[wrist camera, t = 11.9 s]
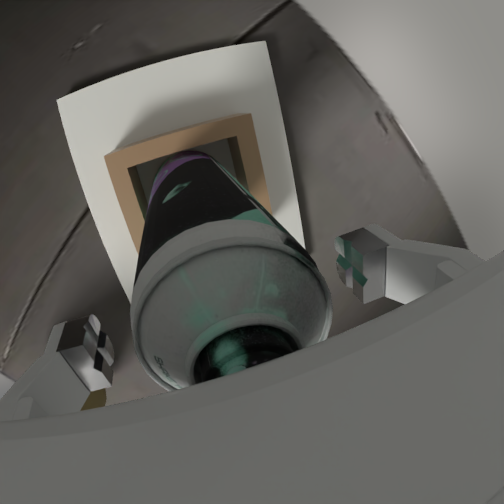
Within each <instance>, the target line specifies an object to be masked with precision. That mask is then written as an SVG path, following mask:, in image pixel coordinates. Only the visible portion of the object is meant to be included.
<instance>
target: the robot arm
mask: <svg viewBox="0 0 504 504" xmlns="http://www.w3.org/2000/svg"><path fill="white" fill-rule="evenodd" d="M335 250H336V251H337V252H338V253H339V256H338V258H337V260H336V264H337V271H338V274H339V277H340V279H341V280H342V282H343V283H344V284H345V285H346V286H347V287H351V288H353V294H354V295H355V296H356V297H357V298H358V299H359V300H360V301H361V302H362V303H363V304H365V303H368V302H370V301H373V300H375V299H378V298H380V297H383V296H385V297H388V298H390V299H393V300H396V301H398V302H401V303H404V304H405V305H403V306H401V307H399V308H397V309H395V310H392V311H390V312H388V313H386V314H384V315H382V316H380V317H377V318H375V319H373V320H371V321H368V322H366V323H364V324H362V325H359V326H357V327H355V328H352V329H350V330H348V331H345V332H343V333H341V334H338V335H336V336H333V337H331V338H329V339H326V340H324V341H321V342H319V343H316V344H314V345H311V346H308V347H306V348H303V349H301V350H298V351H295V352H293V353H290V354H287V355H284V356H282V357H279V358H276V359H273V360H271V361H268V362H265V363H262V364H259V365H256V366H253V367H250V368H247V369H244V370H241V371H238V372H235V373H232V374H228V375H225V376H222V377H219V378H216V379H212V380H209V381H205V382H202V383H199V384H195V385H192V386H188V387H184V388H181V389H177V390H173V391H169V392H166V393H162V394H158V395H154V396H150V397H145V398H141V399H137V400H132V401H128V402H123V403H119V404H114V405H109V406H104V407H99V408H94V409H89V410H83V411H80V410H81V408H82V407H83V405H84V403H85V401H86V400H87V398H88V396H89V394H90V392H91V391H95V390H99V389H103V388H107V387H111V386H112V379H113V370H112V369H111V367H110V366H111V365H112V363H113V362H114V350H113V346H112V343H111V341H110V339H109V337H108V336H107V334H105V333H103V332H102V331H100V325H101V324H100V322H99V321H98V319H97V317H96V316H95V315H93V314H91V315H87V316H84V317H80V318H76V319H73V320H69V321H65V322H62V323H59V324H56V325H54V326H53V329H52V332H51V334H50V337H49V340H48V343H47V346H46V348H45V351H44V354H43V356H40V357H39V358H38V359H37V360H36V361H35V362H34V363H33V364H32V365H31V366H30V367H29V368H28V370H27V371H26V372H25V373H24V374H23V375H22V376H21V377H20V378H19V379H18V380H17V381H16V383H15V384H14V385H13V386H12V387H11V388H10V389H9V391H7V393H6V394H5V395H4V396H3V397H2V398H1V400H0V504H504V251H502V252H500V253H499V254H497V255H495V256H494V257H492V258H491V259H489V260H487V261H484V260H483V259H481V258H480V257H478V256H477V255H475V254H473V253H472V252H470V251H469V250H467V249H463V248H457V247H451V246H445V245H438V244H432V243H426V242H420V241H413V240H407V239H406V240H403V241H402V240H401V239H399V238H398V237H396V236H395V235H393V234H392V233H390V232H388V231H387V230H385V229H384V228H382V227H381V226H379V225H377V224H371V225H368V226H366V227H363V228H360V229H357V230H355V231H352V232H349V233H346V234H344V235H341V236H338V237H336V238H335Z"/></svg>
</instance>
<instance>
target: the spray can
mask: <svg viewBox="0 0 504 504" xmlns="http://www.w3.org/2000/svg"><path fill="white" fill-rule="evenodd" d="M332 312H333V306H332V299H331V293H330V291H329V288H328V286H327V283H326V281H325V279H324V277H323V276H322V275H321V273H320V272H319V270H318V268H317V265H316V263H315V262H314V260H313V259H312V258H311V256H310V255H309V254H308V252H307V251H306V250H305V249H304V248H303V247H302V246H301V244H300V243H299V242H298V241H297V240H296V239H295V238H294V237H293V236H292V235H291V234H290V233H289V232H288V231H287V230H286V229H285V228H284V227H283V226H282V225H281V224H280V223H279V222H278V221H277V220H276V219H275V218H274V217H273V216H272V215H271V214H270V213H269V212H268V211H267V210H266V209H265V208H264V207H263V206H262V205H261V204H260V203H259V202H258V201H257V200H256V199H255V198H254V197H253V196H252V195H251V194H250V193H249V192H248V191H247V190H246V189H245V188H244V187H243V186H242V185H241V184H240V183H239V182H238V181H237V180H236V179H235V178H234V177H233V176H232V175H231V174H230V173H229V172H228V171H227V170H226V169H225V168H224V167H223V166H222V165H221V164H220V163H219V162H218V161H217V160H215V159H214V158H213V157H212V156H210V155H208V154H206V153H204V152H201V151H197V150H186V151H181V152H178V153H175V154H173V155H172V156H170V157H168V158H167V159H166V160H165V161H164V162H163V163H162V165H161V166H160V167H159V169H158V171H157V173H156V175H155V178H154V182H153V187H152V191H151V195H150V200H149V205H148V209H147V214H146V219H145V224H144V229H143V234H142V239H141V244H140V250H139V256H138V261H137V267H136V274H135V280H134V286H133V293H132V300H131V308H130V319H131V329H132V336H133V345H134V349H135V352H136V355H137V357H138V360H139V362H140V364H141V365H142V367H143V368H144V370H145V371H146V372H147V374H148V375H149V376H150V377H151V378H152V379H153V380H154V381H155V382H157V383H158V384H159V385H160V386H162V387H163V388H165V389H166V390H168V391H173V390H177V389H181V388H184V387H188V386H192V385H195V384H199V383H202V382H205V381H209V380H212V379H216V378H219V377H222V376H225V375H228V374H232V373H235V372H238V371H241V370H244V369H247V368H250V367H253V366H256V365H259V364H262V363H265V362H268V361H271V360H273V359H276V358H279V357H282V356H284V355H287V354H290V353H293V352H295V351H298V350H301V349H303V348H306V347H308V346H311V345H314V344H316V343H319V342H321V341H324V340H326V339H327V336H328V333H329V330H330V326H331V323H332Z"/></svg>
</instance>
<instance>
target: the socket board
mask: <svg viewBox="0 0 504 504" xmlns="http://www.w3.org/2000/svg"><path fill="white" fill-rule="evenodd" d="M57 104H58V108H59V112H60V115H61V119H62V123H63V127H64V130H65V134H66V138H67V141H68V144H69V148H70V151H71V154H72V158H73V161H74V164H75V167H76V170H77V173H78V176H79V179H80V182H81V185H82V188H83V191H84V194H85V197H86V199H87V202H88V205H89V208H90V210H91V213H92V216H93V218H94V221H95V223H96V226H97V229H98V231H99V234H100V236H101V239H102V241H103V243H104V246H105V248H106V251H107V253H108V255H109V258H110V260H111V262H112V265H113V267H114V269H115V271H116V274H117V276H118V278H119V280H120V283H121V285H122V287H123V289H124V291H125V293H126V295H127V297H128V300H129V302H130V304H131V300H132V293H133V286H134V280H135V274H136V267H137V261H138V256H139V250H140V244H141V239H142V234H143V229H144V224H145V219H146V214H147V209H148V205H149V200H150V195H151V191H152V187H153V182H154V178H155V175H156V173H157V171H158V169H159V167H160V166H161V165H162V163H163V162H164V161H165V160H166V159H167V158H168V157H170V156H172V155H173V154H175V153H178V152H181V151H186V150H197V151H201V152H204V153H206V154H208V155H210V156H212V157H213V158H214V159H215V160H217V161H218V162H219V163H220V164H221V165H222V166H223V167H224V168H225V169H226V170H227V171H228V172H229V173H230V174H231V175H232V176H233V177H234V178H235V179H236V180H237V181H238V182H239V183H240V184H241V185H242V186H243V187H244V188H245V189H246V190H247V191H248V192H249V193H250V194H251V195H252V196H253V197H254V198H255V199H256V200H257V201H258V202H259V203H260V204H261V205H262V206H263V207H264V208H265V209H266V210H267V211H268V212H269V213H270V214H271V215H272V216H273V217H274V218H275V219H276V220H277V221H278V222H279V223H280V224H281V225H282V226H283V227H284V228H285V229H286V230H287V231H288V232H289V233H290V234H291V235H292V236H293V237H294V238H295V239H296V240H297V241H298V242H299V243H300V244H301V246H302V247H303V248H304V249H305V244H304V237H303V231H302V224H301V218H300V212H299V206H298V200H297V194H296V188H295V182H294V176H293V171H292V165H291V160H290V154H289V149H288V144H287V138H286V133H285V128H284V123H283V118H282V113H281V108H280V103H279V99H278V94H277V89H276V85H275V80H274V76H273V71H272V67H271V62H270V58H269V53H268V49H267V45H266V41H259V42H252V43H245V44H239V45H233V46H228V47H222V48H217V49H212V50H207V51H202V52H198V53H193V54H189V55H185V56H181V57H177V58H173V59H169V60H166V61H162V62H158V63H155V64H151V65H148V66H145V67H142V68H138V69H135V70H132V71H129V72H126V73H123V74H120V75H117V76H114V77H112V78H109V79H106V80H103V81H101V82H98V83H96V84H93V85H91V86H88V87H86V88H83V89H81V90H78V91H76V92H74V93H71V94H69V95H67V96H64V97H62V98H60V99H58V100H57Z"/></svg>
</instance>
